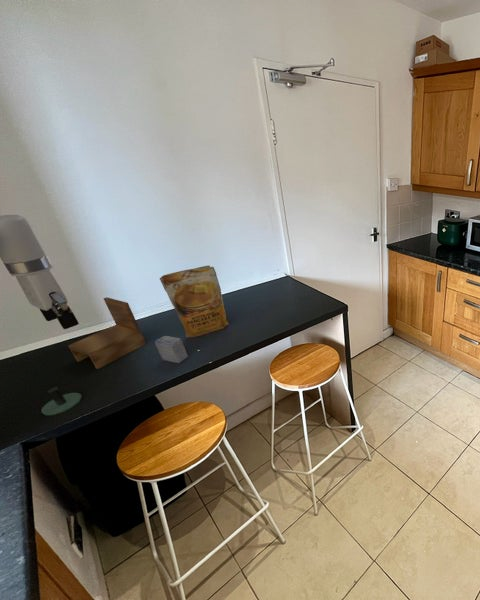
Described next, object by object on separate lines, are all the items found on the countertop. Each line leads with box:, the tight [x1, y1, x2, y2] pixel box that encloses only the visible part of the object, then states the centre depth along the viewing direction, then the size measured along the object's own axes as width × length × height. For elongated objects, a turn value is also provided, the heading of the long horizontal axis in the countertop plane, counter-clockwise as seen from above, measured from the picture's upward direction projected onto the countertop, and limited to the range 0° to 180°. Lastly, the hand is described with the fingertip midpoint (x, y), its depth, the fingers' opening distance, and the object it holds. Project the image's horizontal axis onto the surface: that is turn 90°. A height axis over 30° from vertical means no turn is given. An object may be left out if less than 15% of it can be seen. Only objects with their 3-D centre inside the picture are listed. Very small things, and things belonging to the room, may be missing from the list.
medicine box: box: [154, 335, 189, 364], centre depth 117 cm, size 8×4×9 cm, turn 74°
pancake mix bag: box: [159, 265, 229, 339], centre depth 130 cm, size 7×19×28 cm, turn 129°
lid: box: [41, 386, 83, 416], centre depth 97 cm, size 9×9×6 cm
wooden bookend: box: [67, 297, 147, 370], centre depth 118 cm, size 17×13×19 cm
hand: (62, 322), depth 87 cm, fingers open, 9 cm apart
